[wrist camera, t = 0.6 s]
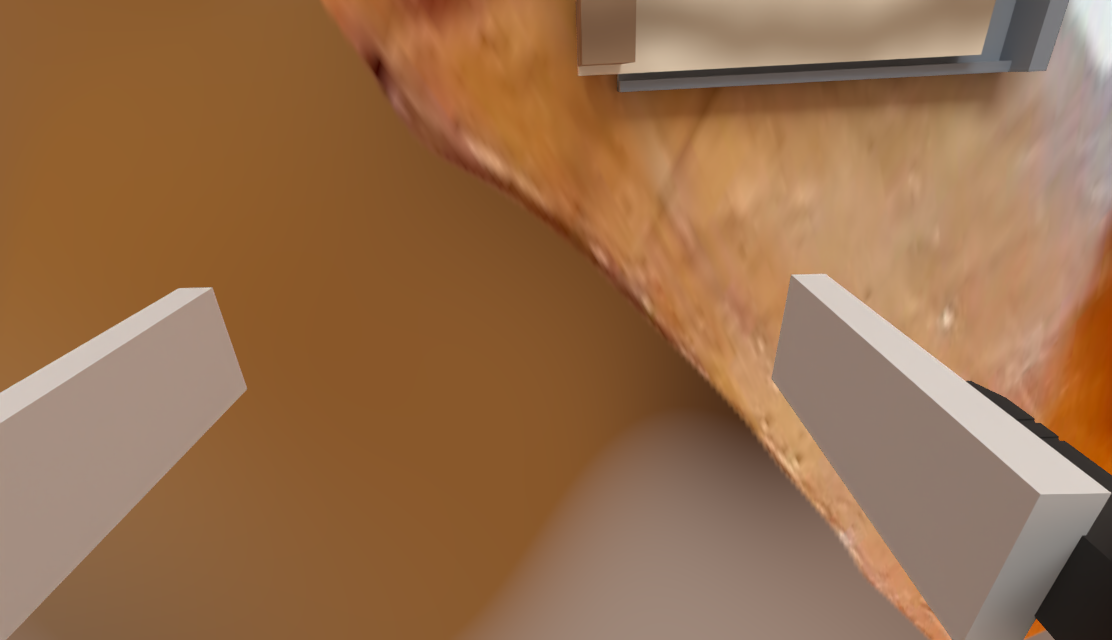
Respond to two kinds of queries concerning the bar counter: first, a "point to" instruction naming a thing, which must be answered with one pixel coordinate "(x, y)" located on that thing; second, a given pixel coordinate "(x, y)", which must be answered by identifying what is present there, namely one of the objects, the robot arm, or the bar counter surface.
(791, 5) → the strip
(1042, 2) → the lane board
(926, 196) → the bar counter surface
